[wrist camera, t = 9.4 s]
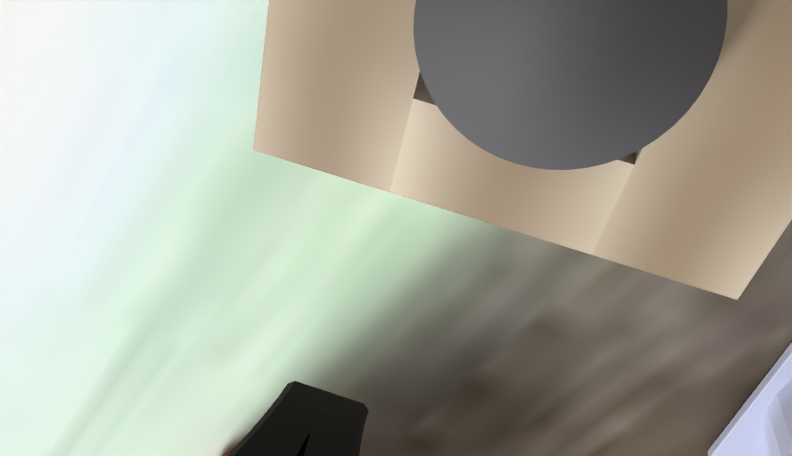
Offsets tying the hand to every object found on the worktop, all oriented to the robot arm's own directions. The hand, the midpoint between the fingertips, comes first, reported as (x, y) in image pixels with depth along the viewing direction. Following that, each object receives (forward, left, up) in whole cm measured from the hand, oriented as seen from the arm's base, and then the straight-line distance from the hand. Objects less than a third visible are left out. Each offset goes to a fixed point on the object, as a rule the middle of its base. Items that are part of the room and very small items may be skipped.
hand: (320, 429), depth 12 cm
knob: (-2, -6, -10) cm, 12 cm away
